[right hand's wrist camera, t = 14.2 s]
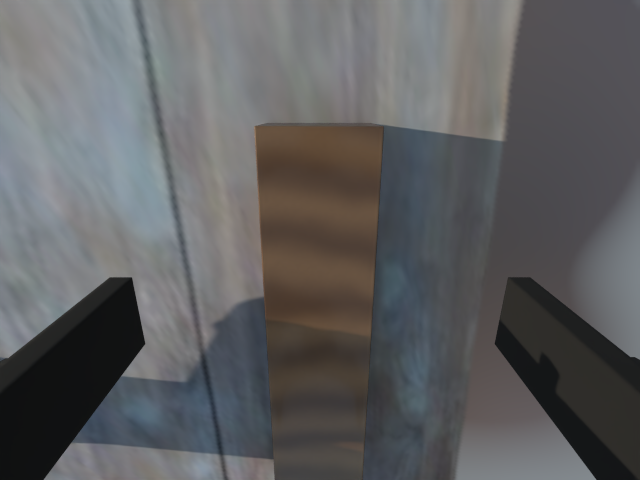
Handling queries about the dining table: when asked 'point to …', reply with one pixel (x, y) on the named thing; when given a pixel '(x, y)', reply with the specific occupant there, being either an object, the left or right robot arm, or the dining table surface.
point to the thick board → (318, 290)
